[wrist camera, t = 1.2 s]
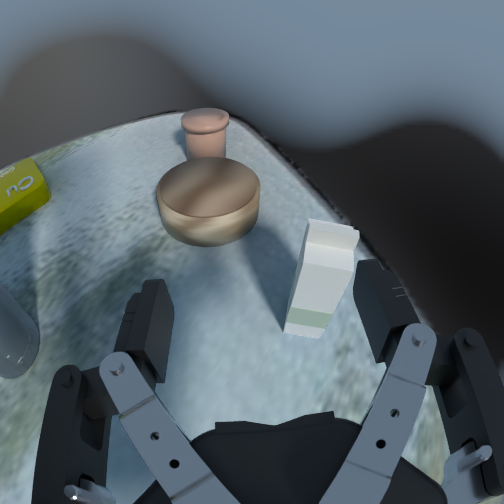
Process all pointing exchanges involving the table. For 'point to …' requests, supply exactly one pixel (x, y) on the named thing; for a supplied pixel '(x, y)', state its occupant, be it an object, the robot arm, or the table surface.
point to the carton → (320, 277)
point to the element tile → (21, 193)
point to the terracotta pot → (205, 132)
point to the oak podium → (209, 201)
